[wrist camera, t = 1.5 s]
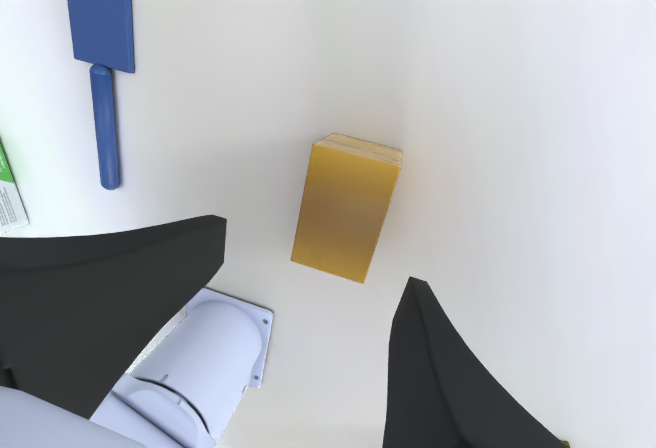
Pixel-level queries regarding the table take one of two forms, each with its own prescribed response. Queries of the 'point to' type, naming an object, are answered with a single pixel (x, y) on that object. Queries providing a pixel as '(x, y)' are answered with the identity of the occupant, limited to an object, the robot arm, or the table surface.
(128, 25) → the spatula
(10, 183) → the ink box
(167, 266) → the robot arm
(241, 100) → the table surface
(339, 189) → the block
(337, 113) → the table surface
